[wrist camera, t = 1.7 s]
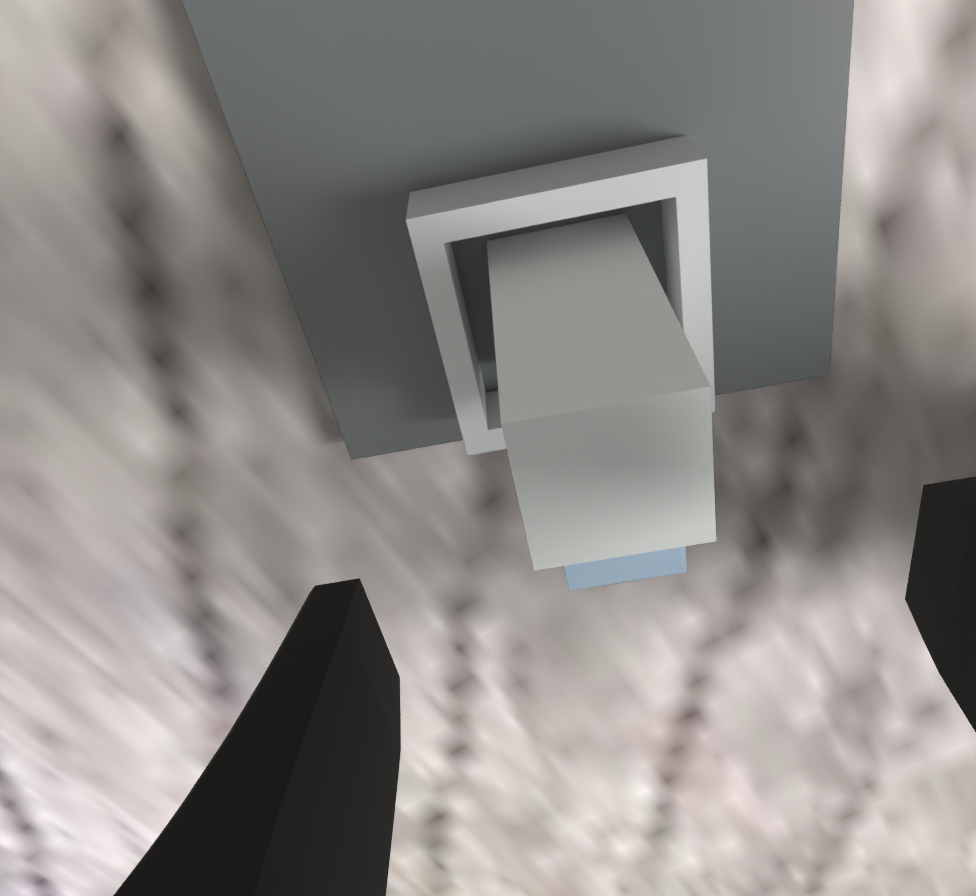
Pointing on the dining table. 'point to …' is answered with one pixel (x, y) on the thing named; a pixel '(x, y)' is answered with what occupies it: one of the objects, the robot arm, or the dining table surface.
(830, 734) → the dining table surface
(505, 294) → the plug
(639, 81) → the port board
